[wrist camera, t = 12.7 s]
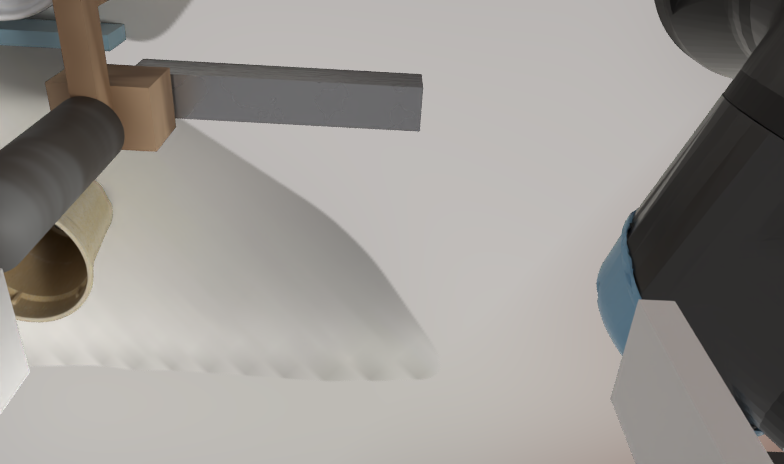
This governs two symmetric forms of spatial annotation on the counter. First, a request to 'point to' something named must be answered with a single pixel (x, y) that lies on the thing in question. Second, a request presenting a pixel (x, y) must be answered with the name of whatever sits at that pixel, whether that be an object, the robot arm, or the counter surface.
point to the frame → (51, 33)
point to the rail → (294, 95)
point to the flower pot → (61, 261)
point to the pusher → (77, 130)
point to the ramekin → (22, 8)
